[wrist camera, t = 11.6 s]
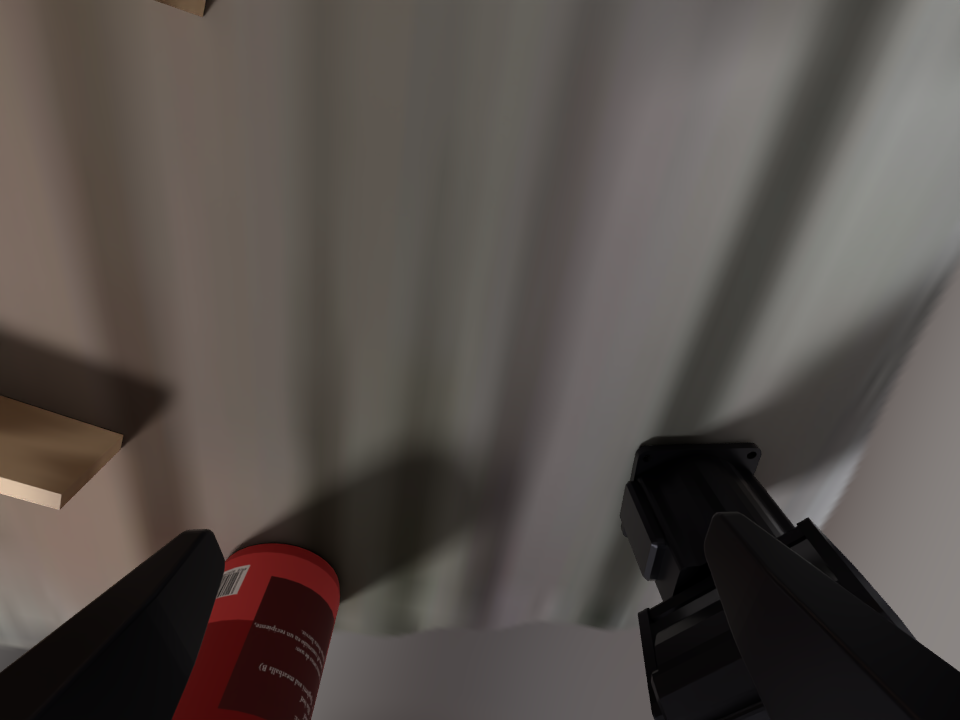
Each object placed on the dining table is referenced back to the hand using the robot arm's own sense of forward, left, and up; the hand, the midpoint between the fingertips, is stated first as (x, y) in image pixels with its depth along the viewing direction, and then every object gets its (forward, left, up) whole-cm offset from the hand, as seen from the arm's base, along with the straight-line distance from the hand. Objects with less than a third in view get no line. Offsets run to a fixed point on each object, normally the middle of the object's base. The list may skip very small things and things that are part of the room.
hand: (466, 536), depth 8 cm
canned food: (+12, +19, -13) cm, 26 cm away
